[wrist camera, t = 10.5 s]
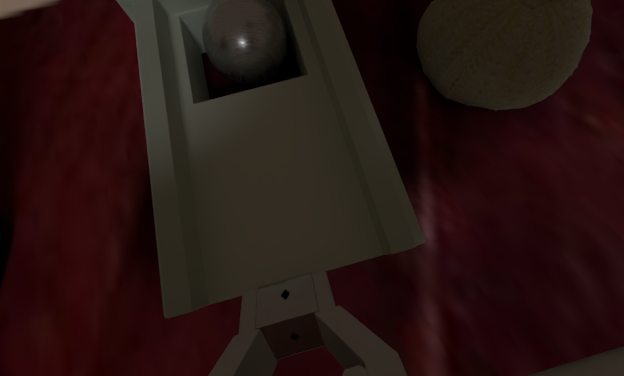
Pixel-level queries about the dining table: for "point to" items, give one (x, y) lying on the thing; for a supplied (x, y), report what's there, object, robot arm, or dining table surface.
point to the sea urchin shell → (502, 48)
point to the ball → (244, 39)
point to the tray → (262, 160)
